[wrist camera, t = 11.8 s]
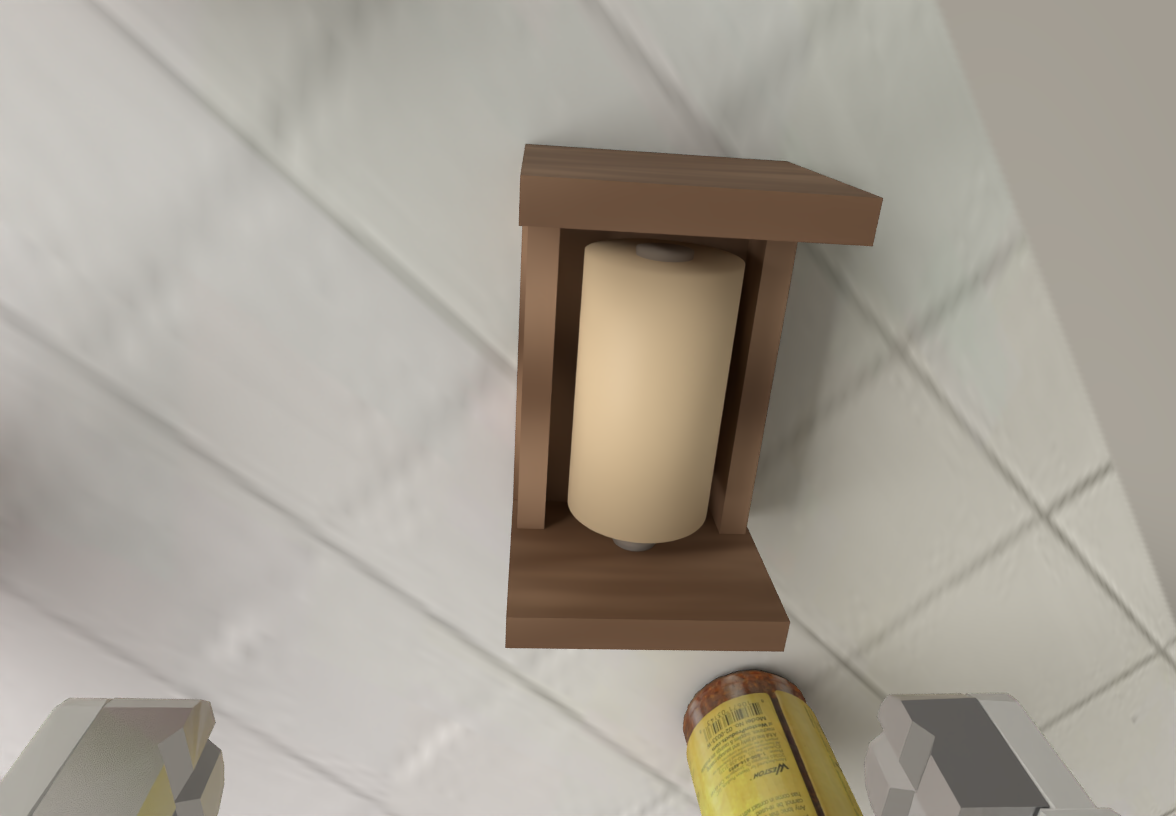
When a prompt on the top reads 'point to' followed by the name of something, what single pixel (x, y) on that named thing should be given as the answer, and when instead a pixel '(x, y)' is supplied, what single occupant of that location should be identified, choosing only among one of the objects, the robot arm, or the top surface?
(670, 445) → the roll
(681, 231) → the holder
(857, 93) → the top surface
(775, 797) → the sauce bottle
